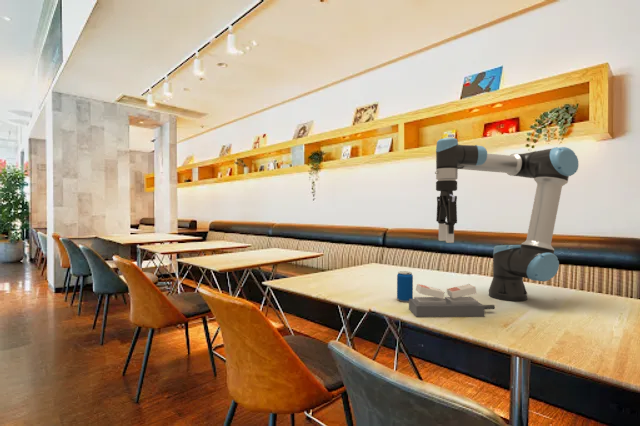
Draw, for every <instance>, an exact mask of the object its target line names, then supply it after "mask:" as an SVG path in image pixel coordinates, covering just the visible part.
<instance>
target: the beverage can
mask: <svg viewBox="0 0 640 426" xmlns="http://www.w3.org/2000/svg"><path fill="white" fill-rule="evenodd" d="M413 280H414V275H413V273H412V272H411V271H406V270H405V271H404V270H403V271H398V272H397V275H396V299H397V300H398V301H399V302H401V303H402V302H403V303H409V299H414V297H413V296H414V295H413V293H414V292H413V291H414V290H413V289H414V288H413V287H414V283H413V282H414V281H413Z"/></svg>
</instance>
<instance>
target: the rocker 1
mask: <svg viewBox="0 0 640 426" xmlns="http://www.w3.org/2000/svg"><path fill="white" fill-rule="evenodd" d="M415 291H416V292H417V293H418V294H421V295H425V296H428V297H438V298H442V299H444V298H445V292H444V291H443V290H441V288H436V287H433V286H427V285H423V284H419V283H417V284H416V287H415Z"/></svg>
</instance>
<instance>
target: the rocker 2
mask: <svg viewBox="0 0 640 426" xmlns="http://www.w3.org/2000/svg"><path fill="white" fill-rule="evenodd" d="M446 293H447V296H448V297H452V298H457V297H468V296H471V295H475V294H477V289H476V286H474V285H472V284H470V283H468V284H463V285H457V286H454V287H449V288H446Z"/></svg>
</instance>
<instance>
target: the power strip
mask: <svg viewBox="0 0 640 426" xmlns="http://www.w3.org/2000/svg"><path fill="white" fill-rule="evenodd" d="M408 310H410V312H411V314H413V315H414V316H415V317H416V318H473V317H474V318H475V317H476V318H477V317H478V318H479V317H483V318H484V317H485V313H486V312H485V310H496V306H495V305H494V304H483V303H481V302H479V301H478V300H477V299H475V298H474V297H472V296H462V297H457V298H452V297H450V296H444V298H443V299H442V298H438V297H433V296H414V297H413V299H409V302H408Z"/></svg>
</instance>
